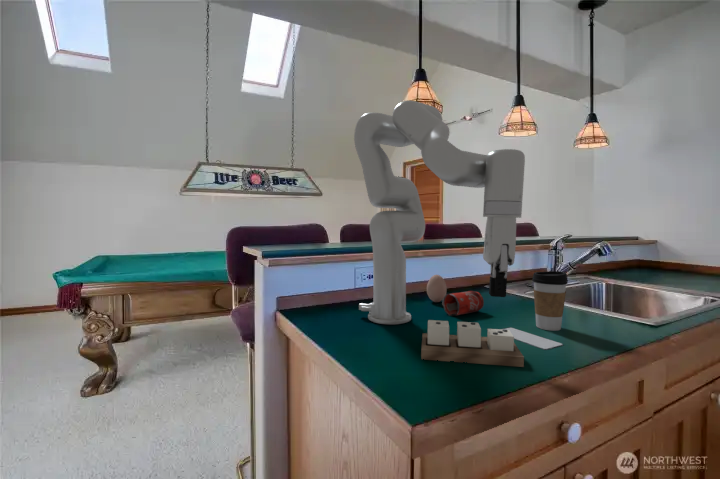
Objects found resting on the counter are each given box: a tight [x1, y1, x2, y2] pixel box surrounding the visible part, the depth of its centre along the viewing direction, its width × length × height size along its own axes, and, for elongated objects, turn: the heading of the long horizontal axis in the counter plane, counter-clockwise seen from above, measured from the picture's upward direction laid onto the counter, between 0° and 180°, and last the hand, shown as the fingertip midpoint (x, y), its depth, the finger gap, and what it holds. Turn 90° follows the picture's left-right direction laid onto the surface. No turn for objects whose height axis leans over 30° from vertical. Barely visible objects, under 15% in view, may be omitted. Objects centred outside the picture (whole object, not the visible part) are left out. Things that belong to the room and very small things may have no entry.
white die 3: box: [486, 328, 515, 351], centre depth 76 cm, size 4×4×4 cm
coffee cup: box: [532, 270, 569, 332], centre depth 95 cm, size 8×8×15 cm
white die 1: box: [427, 319, 450, 345], centre depth 78 cm, size 4×4×4 cm
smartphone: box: [501, 327, 564, 351], centre depth 87 cm, size 7×1×15 cm
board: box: [420, 332, 525, 368], centre depth 77 cm, size 20×11×2 cm, turn 79°
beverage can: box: [441, 290, 485, 317], centre depth 110 cm, size 7×12×7 cm, turn 118°
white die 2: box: [456, 321, 482, 348], centre depth 77 cm, size 4×4×4 cm
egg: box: [426, 274, 448, 303], centre depth 124 cm, size 7×7×10 cm
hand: (497, 295), depth 76 cm, fingers closed
